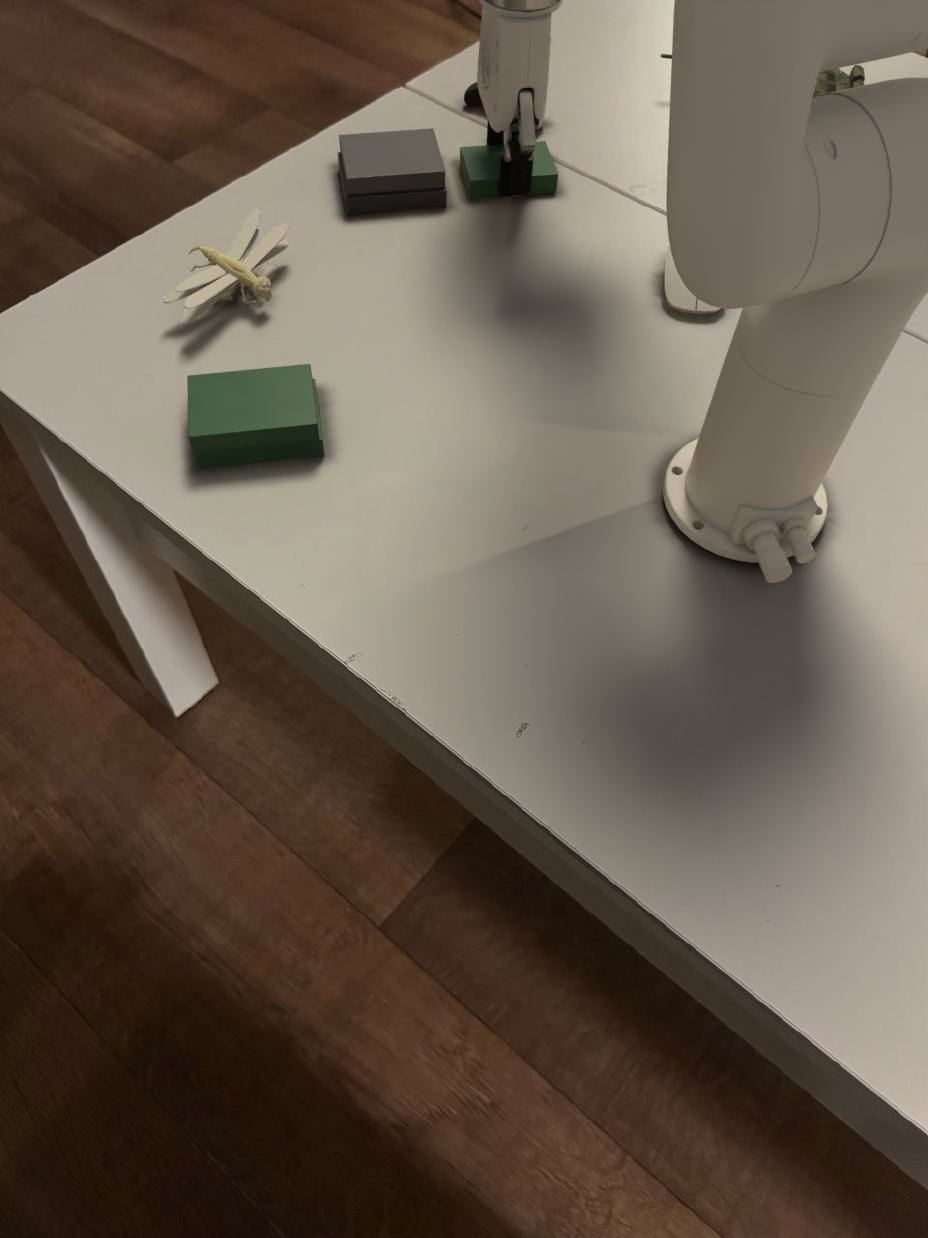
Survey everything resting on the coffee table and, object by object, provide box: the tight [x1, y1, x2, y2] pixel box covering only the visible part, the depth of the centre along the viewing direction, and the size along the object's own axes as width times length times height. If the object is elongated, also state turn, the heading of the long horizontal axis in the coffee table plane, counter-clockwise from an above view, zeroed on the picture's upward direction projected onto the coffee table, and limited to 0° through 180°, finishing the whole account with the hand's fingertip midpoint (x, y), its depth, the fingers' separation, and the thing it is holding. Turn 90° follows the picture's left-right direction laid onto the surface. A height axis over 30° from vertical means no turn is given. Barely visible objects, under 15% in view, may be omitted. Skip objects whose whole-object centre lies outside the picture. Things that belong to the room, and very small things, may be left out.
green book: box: [459, 140, 559, 200], centre depth 96 cm, size 6×9×2 cm, turn 100°
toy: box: [162, 209, 291, 325], centre depth 83 cm, size 15×9×5 cm, turn 148°
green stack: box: [186, 363, 325, 470], centre depth 75 cm, size 7×10×4 cm
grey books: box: [337, 128, 448, 216], centre depth 94 cm, size 8×10×4 cm
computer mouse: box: [663, 245, 722, 315], centre depth 87 cm, size 6×10×3 cm, turn 173°
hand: (507, 173), depth 96 cm, fingers closed on green book, 6 cm apart
